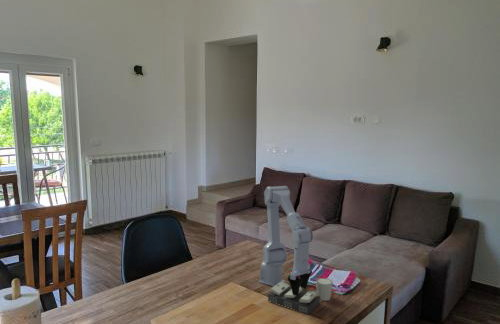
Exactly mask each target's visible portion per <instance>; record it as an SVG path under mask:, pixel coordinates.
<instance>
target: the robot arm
mask: <svg viewBox="0 0 500 324" xmlns="http://www.w3.org/2000/svg"><path fill="white" fill-rule="evenodd" d="M263 194H264V195H263V196H264V204H265V206H266V211H267V214H266V215H267V230H268V231H267V232H268V242H267V243H266V244H265V245H264V246H263V247H262V248H263V249H262V263H261V265H260V267H259V268H260V269H259V270H260V271H259V281H258V283H260V284H261V283H262V284H263V285H267V286H271V287H274V286H275V285H277V284H278V283H279V282H281V281H283V282H285V283H286V280H285V279H283V277H282V276H283V275H282V274H283V265H285V262H286V261H287V258H288V255H287V250H286V246H285V244H284V243H282V242H281V234H280V233H281V231H280V214H279V207H280V206H281V208H282V209H283V211H284V213H285V215H286V216H287V217H286V222H287V224H288V226H289V229H291V232H292V234H291V238H292V241H293V242H292V245H293V249H294V252H293V267H292V270H291V273H290V274H289V275H288V276H287V280H288V282H289V284H290V287H291V288H292V293H293V295H296V296H298V294H299V289H300V287H301V288H303V289H307V287H308V283H309V280H310V278H311V275H312V274H313V270H310V269H311V264H310V263H309V257H310V256H309V254H310V243H311V242H312V241H313V238H314V236H313V231H312V229H311V228H310V227H308V226H307V225H305V223H304V220H303V218H302V217H301V216H300V214H299V213H298V212H296V211H295V209H294V206H293V203H292V201H291V191H290V189H289V187H288V186H287V185H281V186H280V185H279V186H270V185H269V186H267V187H266V188H265V190H264V192H263Z"/></svg>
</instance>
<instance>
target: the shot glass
mask: <svg viewBox="0 0 500 324" xmlns="http://www.w3.org/2000/svg"><path fill="white" fill-rule="evenodd" d="M315 283H316V284H315V285H316V289H315V291H318V296H320V301H324V302H325V301H329V300H331V296H332V290H333V283H334V281H333V280H331V279H329V278H326V277H325V278H321V277H320V278H317V279H316V280H315Z"/></svg>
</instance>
